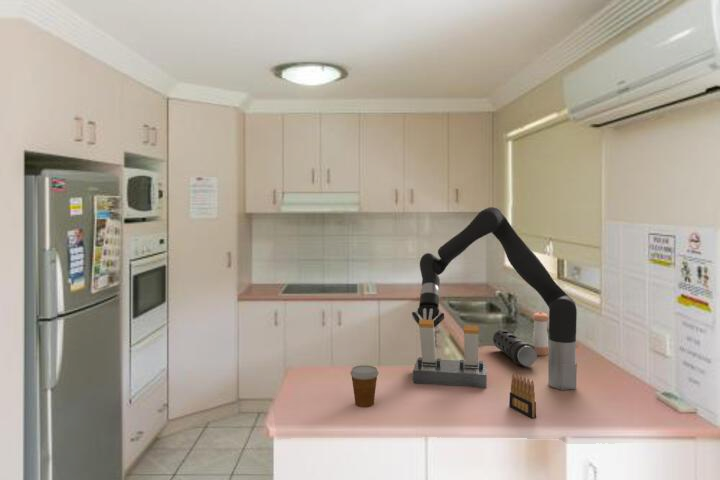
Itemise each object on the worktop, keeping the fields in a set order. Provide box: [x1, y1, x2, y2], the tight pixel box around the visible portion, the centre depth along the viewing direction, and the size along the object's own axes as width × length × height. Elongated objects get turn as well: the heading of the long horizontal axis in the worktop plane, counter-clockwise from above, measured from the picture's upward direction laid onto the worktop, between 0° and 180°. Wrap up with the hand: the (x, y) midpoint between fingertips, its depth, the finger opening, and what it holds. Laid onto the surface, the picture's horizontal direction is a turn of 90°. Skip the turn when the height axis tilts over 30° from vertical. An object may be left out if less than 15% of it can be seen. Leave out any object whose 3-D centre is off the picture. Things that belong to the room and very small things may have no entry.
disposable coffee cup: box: [350, 364, 379, 408], centre depth 174 cm, size 10×10×12 cm
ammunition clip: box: [508, 371, 537, 420], centre depth 166 cm, size 11×2×12 cm, turn 23°
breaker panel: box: [412, 356, 488, 389], centre depth 199 cm, size 16×27×7 cm, turn 77°
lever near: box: [463, 324, 480, 367], centre depth 189 cm, size 2×5×24 cm
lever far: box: [418, 318, 437, 365], centre depth 194 cm, size 2×5×24 cm
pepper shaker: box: [531, 310, 549, 356], centre depth 232 cm, size 7×7×19 cm
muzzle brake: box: [492, 329, 538, 367], centre depth 223 cm, size 10×28×10 cm, turn 5°
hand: (426, 335), depth 193 cm, fingers closed
